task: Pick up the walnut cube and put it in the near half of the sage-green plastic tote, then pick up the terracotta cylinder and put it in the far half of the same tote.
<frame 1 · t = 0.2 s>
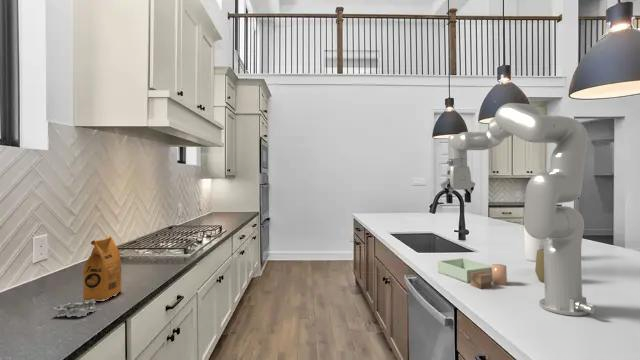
hand: (458, 202, 148), 31 cm above the countertop, tool pointing down, fingers open, 9 cm apart
tote: (464, 275, 144), on the countertop
squeeze bottle: (547, 281, 134), on the countertop
alcohol: (535, 260, 168), on the countertop
coffee package: (103, 297, 127), on the countertop
walnut cube: (481, 286, 130), on the countertop
terracotta cylinder: (499, 283, 133), on the countertop
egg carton: (75, 315, 111), on the countertop
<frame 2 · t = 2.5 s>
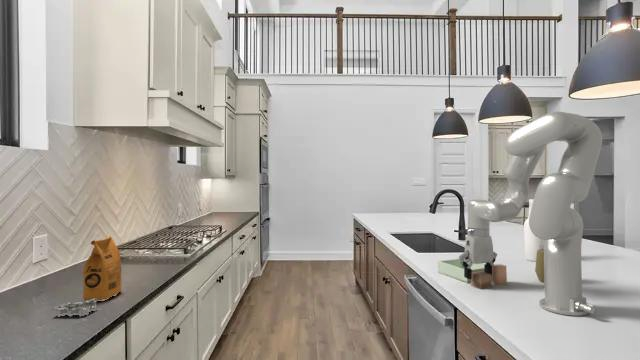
hand: (478, 276, 131), 3 cm above the countertop, tool pointing down, fingers open, 9 cm apart
terracotta cylinder: (499, 283, 133), on the countertop, touching gripper
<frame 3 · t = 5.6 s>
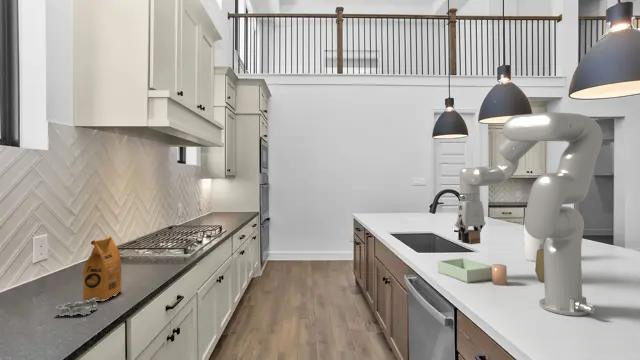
hand: (470, 241, 141), 15 cm above the countertop, tool pointing down, fingers closed on walnut cube, 4 cm apart
walnut cube: (470, 242, 141), point 14 cm above the countertop, touching gripper
terracotta cylinder: (499, 283, 132), on the countertop
when the fingers open (4 cm above the countertop, at t = 7.8 s): walnut cube drops 3 cm, resting on tote.
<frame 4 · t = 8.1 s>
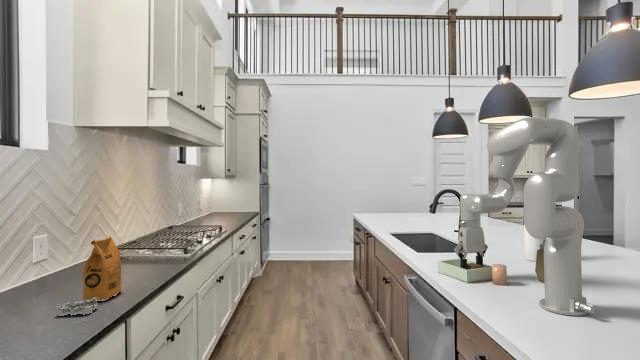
hand: (471, 266, 141), 5 cm above the countertop, tool pointing down, fingers open, 7 cm apart
walnut cube: (472, 276, 141), point 1 cm above the countertop, touching tote
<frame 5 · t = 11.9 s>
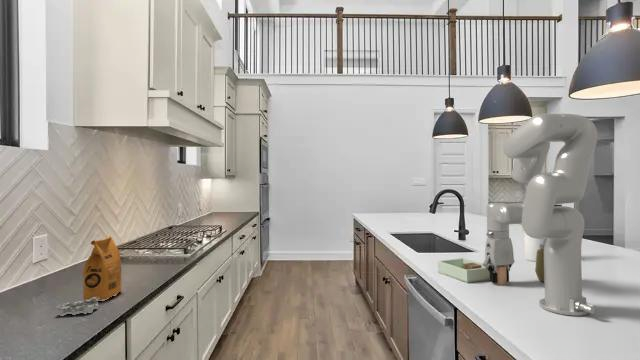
hand: (499, 281, 133), 1 cm above the countertop, tool pointing down, fingers closed on terracotta cylinder, 5 cm apart
terracotta cylinder: (499, 283, 132), on the countertop, touching gripper
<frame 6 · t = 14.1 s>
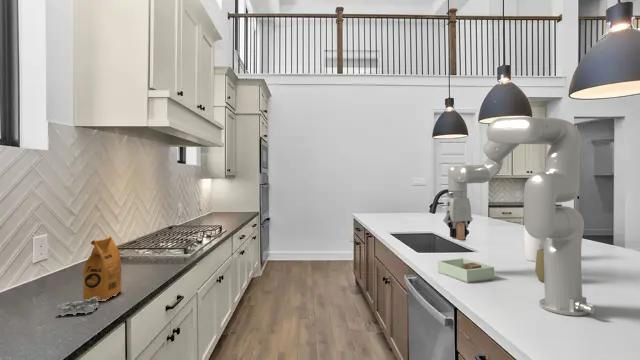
hand: (458, 236, 148), 16 cm above the countertop, tool pointing down, fingers closed on terracotta cylinder, 5 cm apart
terracotta cylinder: (458, 238, 148), point 15 cm above the countertop, touching gripper
when the fingers open (4 cm above the countertop, at t = 16.6 s): terracotta cylinder drops 3 cm, resting on tote.
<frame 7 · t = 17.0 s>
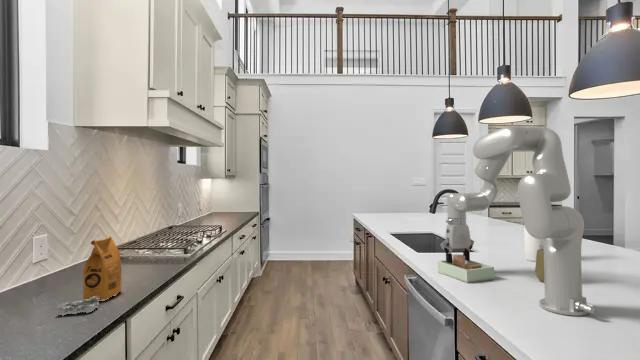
hand: (457, 261, 148), 5 cm above the countertop, tool pointing down, fingers open, 8 cm apart
terracotta cylinder: (458, 271, 148), point 1 cm above the countertop, touching tote
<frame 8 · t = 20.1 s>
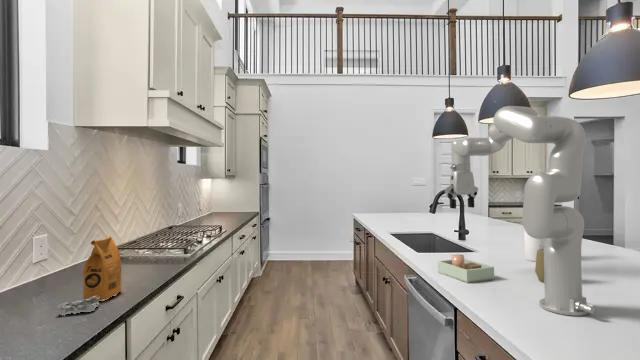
hand: (462, 207, 149), 28 cm above the countertop, tool pointing down, fingers open, 9 cm apart
at the end: walnut cube inside the target area on the tote (4.0 cm from its centre), point 0.6 cm above the tote's base; terracotta cylinder inside the target area on the tote (3.9 cm from its centre), point 0.7 cm above the tote's base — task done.
